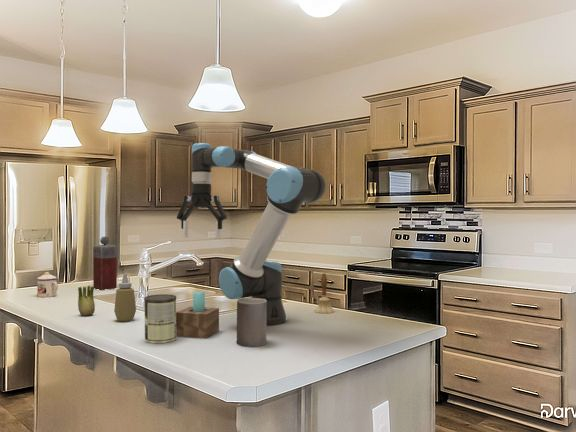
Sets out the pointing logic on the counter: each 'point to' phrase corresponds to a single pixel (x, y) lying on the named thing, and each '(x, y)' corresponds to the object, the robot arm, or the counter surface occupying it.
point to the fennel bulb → (86, 301)
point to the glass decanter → (104, 265)
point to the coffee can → (160, 318)
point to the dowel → (198, 302)
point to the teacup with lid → (47, 285)
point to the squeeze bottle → (125, 301)
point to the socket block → (197, 322)
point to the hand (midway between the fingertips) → (201, 237)
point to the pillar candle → (251, 321)
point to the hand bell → (324, 299)
